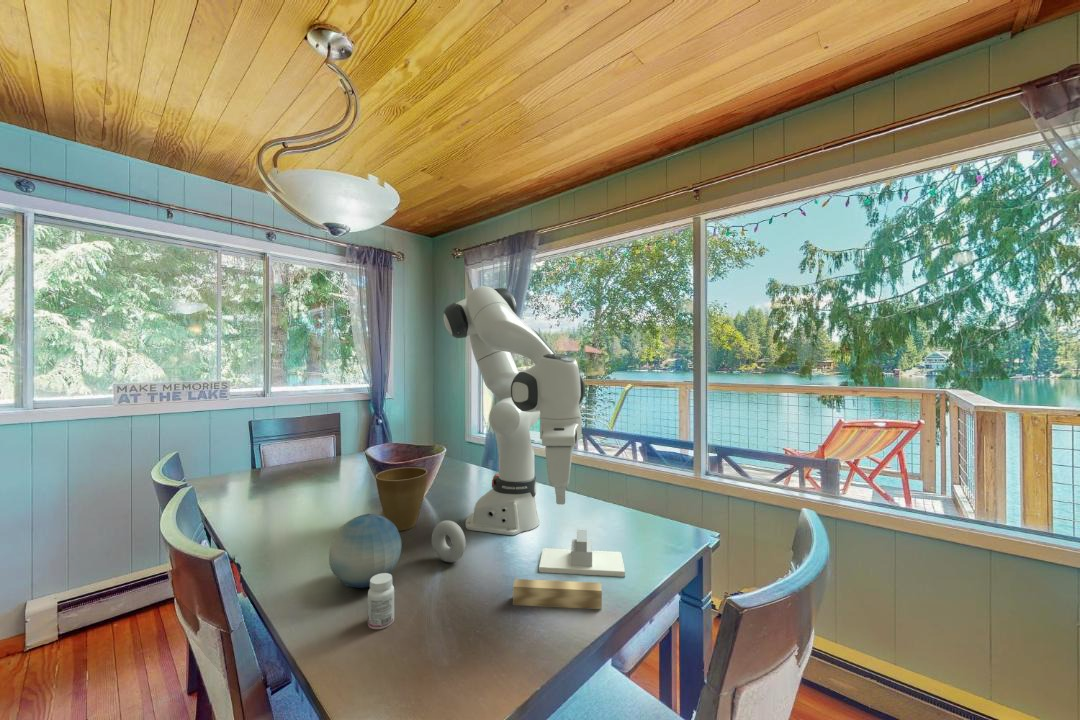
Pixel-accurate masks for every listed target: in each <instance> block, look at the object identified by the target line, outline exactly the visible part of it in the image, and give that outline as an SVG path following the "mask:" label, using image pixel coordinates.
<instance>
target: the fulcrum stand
mask: <svg viewBox="0 0 1080 720" xmlns="http://www.w3.org/2000/svg"><path fill="white" fill-rule="evenodd" d="M587 538H588V536H587V530H586V529H577V530H576V538H572V539H571V547H570V548H571V549H565V548H563V549H562V548H549V547H548V548H546V547H543V548H542V551H541V557H540V560H539V566H538V573H545V574H546V573H549V574H564V575H565V574H569V575H585V576H587V575H588V576H599V577H600V576H602V577H620V578H621V577H623V578H625V577H626V571H625V570H626V569H625V565H624V560H623V555H622V552H621V551H610V550H609V551H608V550H607V551H606V550H603V551H602V550H593V542H592V541H593V540H592V539H587Z"/></svg>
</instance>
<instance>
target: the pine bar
mask: <svg viewBox="0 0 1080 720" xmlns="http://www.w3.org/2000/svg"><path fill="white" fill-rule="evenodd" d="M513 581H514V582H513V584H512V585H513V586H512V605H513V606H525V607H526V606H527V607H528V606H530V607H531V606H532V607H550V608H571V609H586V608H592V610H593V609H594V610H602V609H603V608H602V607H603V599H602V596H603V594H602V593H603V592H602V591H603V590H602V583H601V582H592V581H591V582H590V581H589V582H588V581H567V580H566V581H565V580H546V579H543V580H542V579H524V578H521V579H520V578H519V579H518V578H515V579H514V580H513Z"/></svg>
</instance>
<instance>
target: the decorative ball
mask: <svg viewBox="0 0 1080 720" xmlns="http://www.w3.org/2000/svg"><path fill="white" fill-rule="evenodd" d="M401 552H402V539H401V535H400V531H398V529H397V528H396V526H395V525H394V524H393V523H392V522H391V521H390V520H388V519H387V518H385V516H384V515H381V514H374V513H373V514H372V513H367V514H366V513H365V514H362V515H358V516H355V517H353V518H352V519H350V520H349V521H347V522H346V523H345V524H344V525H342V526H341V527H340V528H339V530H338V531H337V532H336V533H335V535H334V537H333V538H332V540H331V543H330V547H329V552H328V553H329V554H328V555H329V556H328V559H329V560H328V562H329V563H328V564H329V567H330V569H331V572H332V574H333V575H334V576H335V577H336V579H337V580H338V581H340V583H342V584H343V585H346V586H348V587H350V588H357V589H359V588H360V589H362V588H368V587H369V588H370V579H371V578H372V577H373V576H375V575H377V574H381V573H389V574H391V573H392V572H393V570H394V569H395V567H396V565H397V563H398V561H399V559H400V557H401Z"/></svg>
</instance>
